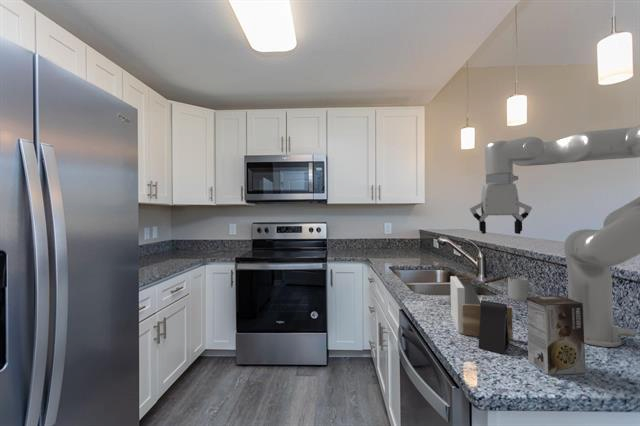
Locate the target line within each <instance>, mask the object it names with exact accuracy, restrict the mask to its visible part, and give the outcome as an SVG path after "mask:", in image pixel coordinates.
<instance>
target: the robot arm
mask: <svg viewBox="0 0 640 426" xmlns="http://www.w3.org/2000/svg"><path fill="white" fill-rule="evenodd" d="M484 148H485V149H484V157H485V158H484V159H485V160H484V161H485V167H484V168H485V184H484V185H483V186H482V189H481V195H480V196H481V197H480V203H477V204H476V205H474V206H471V207H470V208H469V211H470V213H471V214H472V216H473V217H474V218H475V219H476V220H477V221H478V222H479V223H478V224H479V226H478V227H479V229H478V230H479V232H481V234H483V235H485V234H486V233H487V226H486V225H487V224H486V223H487V222H486V221H485V220H486V218H488V217H489V216H511V217H513V218H514V219H515V220H514V234H516V235H520V234H521V232H522V231H523V222H524V220H525V219H526V218H527V217H529V214H530V213H531V211H532V209H533V207H532V206H530V205H527V204H525V203H523V202H520V200H519V193H518V192H519V191H518V189H517V185H516V183H514V182H515V181H518V180H519V175H515V174H514V165H516V166H518V167H519V166H520V167H529V166H530V167H531V166H533V167H534V166H547V165H555V164H567V163H568V164H569V163H571V164H572V163H579V162H589V161H604V160H620V159H622V160H623V159H635V158H640V124H639V125H636V126H633V127H622V128H611V129H603V130H602V129H601V130H589V131H583V132H579V133H578V132H577V133H575V134H572V135H569V136H566V137H564V138H559V139H556V140H555V139H554V140H550V141H543V139H542V138H540V137H537V136H525V137H520V138H516V139H512V140H497V141H496V140H495V141H492V142H489V143H488V144H486V146H485V147H484ZM513 164H514V165H513ZM520 208H521V209H524V211H523V212H522V213H521V214H520ZM478 209H480V213H481V215H480V214H479V213H477V210H478ZM564 241H565V242H564V247H563V249H564V255H565V261H566V268H567V269H566V270H567V298H569V299H572V300H574V301H577V302H580V303H583V322H584V344H586V345H590V346H597V347H602V348H603V347H604V348H614V347H620V346H621V345H622V339H621V337H622V336H625V337H629V338H630V337H631V338H632V337H634V338H635V337H637V332H636V331H635V329H634V328H633V329H631V328H630V329H629V328H623V327H622V326H616V325H614V316H613V315H614V314H613V313H614V312H613V279H612V271H611V267H614V266H619V265H621V264H623V263H625V262H627V261H629V260H631V259H632V258H636V257H637V256H638V255H640V196H638V197H636V198H635V199H633V200H631V201H629V202H628V203H626V204H624V205H623V206H621V207H619V208H617V209H614V210H613V211H612V212H610V213H609V214H608V215H607V216H606V217H605V218H604V221H603V227H602V228H600V229H598V230H597V229H589V228H588V229H587V228H586V229H585V228H583V229H578V230H575V231H573V232H571V233H570V234H569V235H568V236H567V237H566V239H565V240H564Z"/></svg>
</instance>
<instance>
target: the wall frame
mask: <svg viewBox="0 0 640 426" xmlns="http://www.w3.org/2000/svg"><path fill="white" fill-rule="evenodd" d="M449 277H450V295H451V306H450V315H451V318H452V320H453V323H454V325H455V328H456V331H457V333H458V334H462V335H464V334H463V317H462V304H465V288H464V287H463V285H462V284H461V282H460V281H459V280H458V278H457V277H456V276H455V275H454V276H453V275H451V276H449Z"/></svg>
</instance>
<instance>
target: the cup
mask: <svg viewBox="0 0 640 426" xmlns="http://www.w3.org/2000/svg"><path fill="white" fill-rule="evenodd" d="M510 277H511V278H509V277H508V278H507V297H508V299H509V298H510V300H511V299H512V300H513V301H517V302H527V297H536V294H537V288H536V287H537V286H535V284H534V283H533V282H531V281H529V279H528V278H527V277H523V276H510ZM510 279H512V281H511V280H510ZM529 287H530V288H531V292H530V293H529ZM512 300H511V301H512Z"/></svg>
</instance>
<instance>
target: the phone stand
mask: <svg viewBox="0 0 640 426" xmlns="http://www.w3.org/2000/svg"><path fill="white" fill-rule="evenodd" d="M480 303H481V304H480V309H481V314H480V330H479V336H478V349H481V350H484V351H489V352H493V353H496V354H500V355H505V353H506V352H505V351H507V350H506V349H508V348H509V346H510V344H511V341H510V340H511V339H509V329H508V319H507V307H508V306H507V305H508V304H507V303H501V302H494V301H489V300H488V301H487V300H481V301H480Z"/></svg>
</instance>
